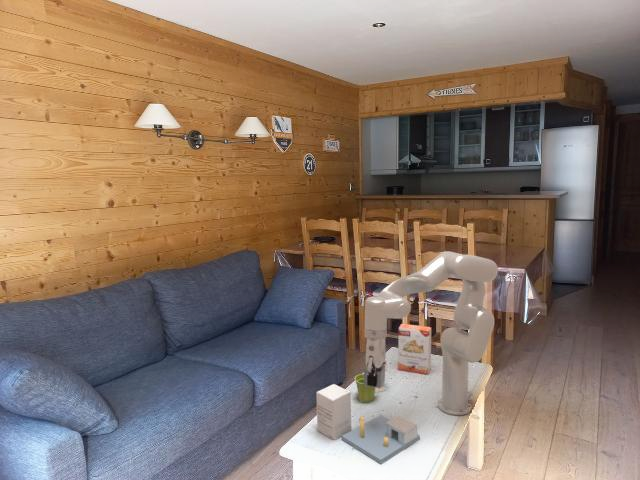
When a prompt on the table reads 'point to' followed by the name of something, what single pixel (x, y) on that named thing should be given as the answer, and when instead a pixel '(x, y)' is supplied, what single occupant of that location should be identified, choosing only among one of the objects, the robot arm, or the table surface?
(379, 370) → the block
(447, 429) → the table surface
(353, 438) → the assembly board
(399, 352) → the cracker box
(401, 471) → the table surface
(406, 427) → the housing cover
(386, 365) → the wineglass
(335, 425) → the supplement box
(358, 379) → the plant pot
